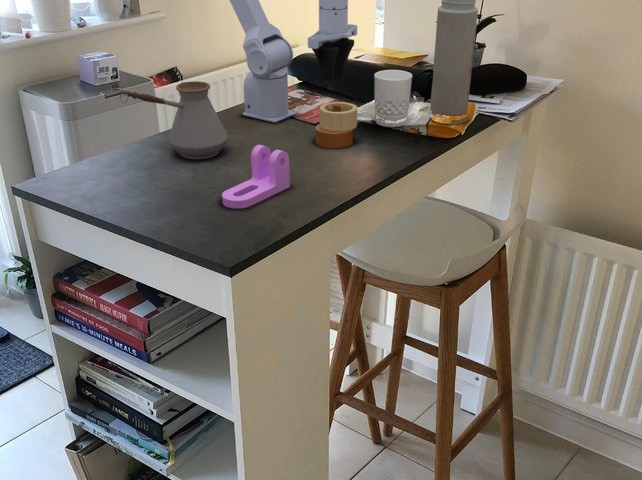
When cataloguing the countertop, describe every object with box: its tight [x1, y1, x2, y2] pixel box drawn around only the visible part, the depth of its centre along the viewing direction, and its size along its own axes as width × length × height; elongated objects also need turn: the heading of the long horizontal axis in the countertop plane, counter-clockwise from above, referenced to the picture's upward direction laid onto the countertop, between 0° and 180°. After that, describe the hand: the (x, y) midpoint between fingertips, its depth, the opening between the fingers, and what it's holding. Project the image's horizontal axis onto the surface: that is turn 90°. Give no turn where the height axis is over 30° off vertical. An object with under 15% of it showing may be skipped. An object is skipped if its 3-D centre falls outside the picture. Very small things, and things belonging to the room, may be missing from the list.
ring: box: [319, 101, 358, 131], centre depth 151 cm, size 7×7×4 cm
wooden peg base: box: [315, 106, 354, 149], centre depth 151 cm, size 8×8×7 cm
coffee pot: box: [119, 80, 229, 160], centre depth 141 cm, size 21×12×15 cm, turn 136°
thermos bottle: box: [429, 0, 479, 126], centre depth 156 cm, size 8×8×28 cm
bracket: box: [221, 144, 291, 209], centre depth 129 cm, size 13×6×7 cm, turn 142°
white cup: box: [373, 69, 413, 128], centre depth 160 cm, size 8×8×10 cm
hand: (333, 78), depth 156 cm, fingers open, 3 cm apart
